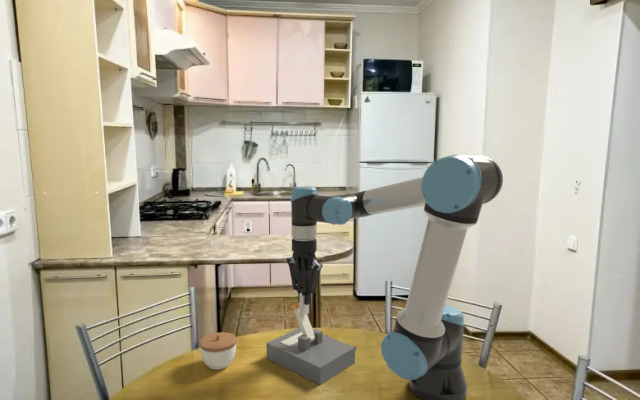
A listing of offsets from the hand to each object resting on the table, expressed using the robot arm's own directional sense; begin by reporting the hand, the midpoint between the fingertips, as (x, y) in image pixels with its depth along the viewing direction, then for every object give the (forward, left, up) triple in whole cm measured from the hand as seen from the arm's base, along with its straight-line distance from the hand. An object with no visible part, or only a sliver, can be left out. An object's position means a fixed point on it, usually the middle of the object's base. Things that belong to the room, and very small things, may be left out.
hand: (304, 313), depth 129 cm
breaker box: (-3, 0, -14) cm, 15 cm away
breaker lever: (-3, 0, -7) cm, 8 cm away
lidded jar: (+16, +20, -15) cm, 30 cm away
